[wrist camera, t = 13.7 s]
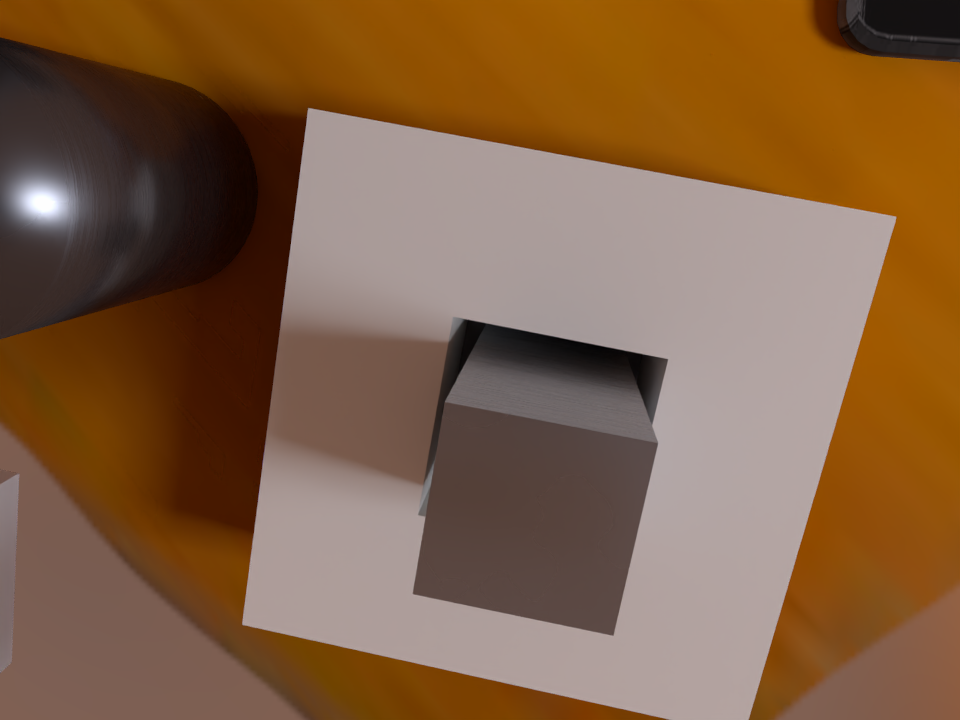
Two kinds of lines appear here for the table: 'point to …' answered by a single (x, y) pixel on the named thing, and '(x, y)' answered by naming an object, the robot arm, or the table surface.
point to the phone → (902, 28)
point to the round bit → (110, 187)
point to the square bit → (538, 481)
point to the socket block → (570, 315)
